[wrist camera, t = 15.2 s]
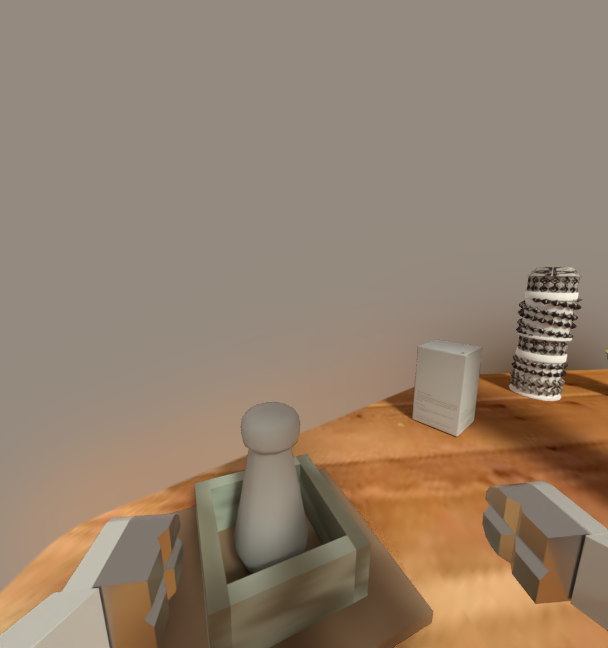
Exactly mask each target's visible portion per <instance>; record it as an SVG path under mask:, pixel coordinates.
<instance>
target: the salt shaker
mask: <svg viewBox="0 0 608 648" xmlns="http://www.w3.org/2000/svg"><path fill="white" fill-rule="evenodd" d="M299 433H300V420H299V416H298V414H297V412H296V411H295V410H294V409H293V408H292V407H290V406H288V405H286V404H283V403H278V402H269V403H268V402H267V403H263V404H258V405H256V406H254V407H252V408H250V409H249V410H248V411H247V412H246V413H245V415H244V416H243V418H242V422H241V434H242V438H243V442H244V444H245V446H246V447H247V448H249V451H248V457H247V462H246V468H245V474H244V480H243V486H242V492H241V498H240V504H239V509H238V515H237V521H236V527H235V533H234V538H235V546H236V552H237V556H238V557H239V559H240V560H241V561H242V563H243V564H244V565H245V567H246V568H247V570H248V571H249V573H250V575H252V574H254V573H257V572H259V571H261V570H264V569H266V568H269V567H271V566H274V565H276V564H278V563H281V562H283V561H286V560H288V559H291V558H293V557H295V556H298V555H300V554H303V553H304V552H305V549H306V544H307V535H308V526H307V522H306V517H305V512H304V507H303V502H302V497H301V492H300V487H299V483H298V478H297V473H296V468H295V463H294V458H293V453H292V448H291V447H293V446H294V445H295V444H296V443H297V441H298V437H299Z"/></svg>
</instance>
